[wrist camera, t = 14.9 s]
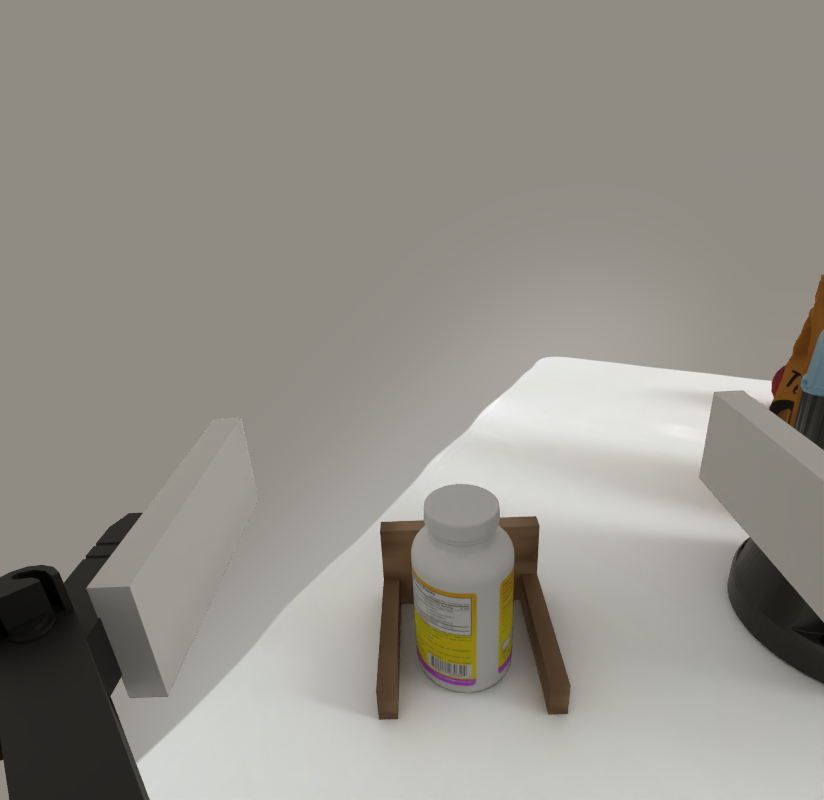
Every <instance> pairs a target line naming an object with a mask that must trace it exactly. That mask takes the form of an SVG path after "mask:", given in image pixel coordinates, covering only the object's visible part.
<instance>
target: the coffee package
mask: <svg viewBox="0 0 824 800" xmlns="http://www.w3.org/2000/svg"><path fill="white" fill-rule="evenodd" d="M823 329H824V275H822V276H821V281H820V283H819V286H818V290H817V293H816V296H815V304H814V307H813V308H812V309H811V310H810V312H809V317H808V318H807V320H806V322H805V324H804V326H803V329H802V332H801V334H800V336H799V337H798V339H797V340H796V343H795V345H794V347H793V355H792V356H791V358H790V359H789V361H788V363H787V364H786V367H785V371H784V375H783V378H782V381H781V383H780V384H779V388H778V390H777V393H776V395H775V397H774V399H773V401H772V403H771V406H770V408H769V410H770V411H771V412H772V413H774V414H775V415H777V416H778V417H779V418H781V419H782V420H783V421H785V422H786V423H787V424H789V425H790V426H791V427H794V423H795V419H796V415H797V411H798V407H799V403H800V399H801V395H802V391H803V390H802V387H801V386H800V385H801V380H802V378H803V376H804V375H805V374H806V373H807V371H808V368H809V365H810V362H811V359H812V356H813V353H814V350H815V347H816V344H817V341H818V338H819V336H820V334H821V332H822V331H823Z"/></svg>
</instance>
